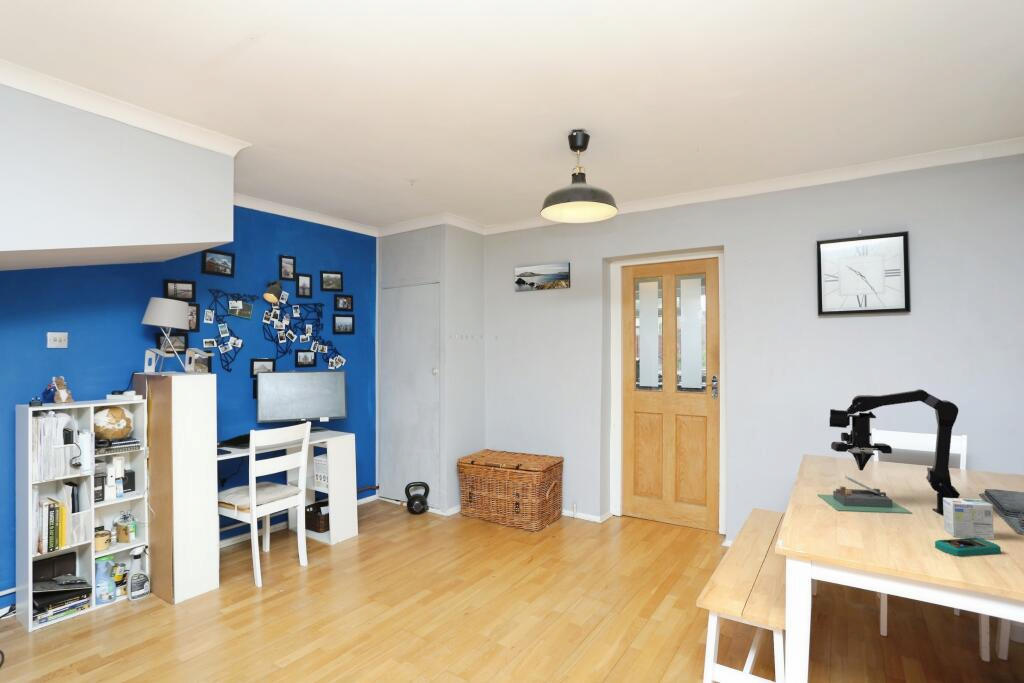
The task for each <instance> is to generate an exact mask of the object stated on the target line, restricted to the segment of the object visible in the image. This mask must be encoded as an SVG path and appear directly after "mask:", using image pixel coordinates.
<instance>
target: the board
mask: <svg viewBox="0 0 1024 683" xmlns="http://www.w3.org/2000/svg"><path fill="white" fill-rule="evenodd" d="M817 497H818V498H820V499H822V500H823V501H824V502H825V503H826V504H828V505H829V506H831V507H832V508H833V509H835V510H836V511H837V512H852V513H853V512H855V513H857V512H858V513H881V514H882V513H883V514H907V515H908V514H909V515H911V514H912V515H913V512H912V511H910V510H908V509H907V508H905V507H903V506H902V505H899V503H896V502H895V501H894V500H892V508H882V507H854V506H843V505H842V504H840V503H839V502H838V501H836V500H835V499H834V498H833V494H822V493H821V494H817Z"/></svg>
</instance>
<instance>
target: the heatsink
mask: <svg viewBox="0 0 1024 683" xmlns="http://www.w3.org/2000/svg"><path fill="white" fill-rule="evenodd" d="M872 489H873V490H875V491H877V492H879V495H878V494H876V493H874V492H872V491H870V490H868V489H859V488H858V489H857V488H855V489H854V488H846V486H839V488H836V489H835V490H833V491H832V495H833V498H834V499H835V500H836V501H838V502H839V503H840V504H842V505H843V506H854V507H882V508H892V501H893V499H892V498H890V497H889V496H887V492H885V491H881V489H880V488H872Z"/></svg>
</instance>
